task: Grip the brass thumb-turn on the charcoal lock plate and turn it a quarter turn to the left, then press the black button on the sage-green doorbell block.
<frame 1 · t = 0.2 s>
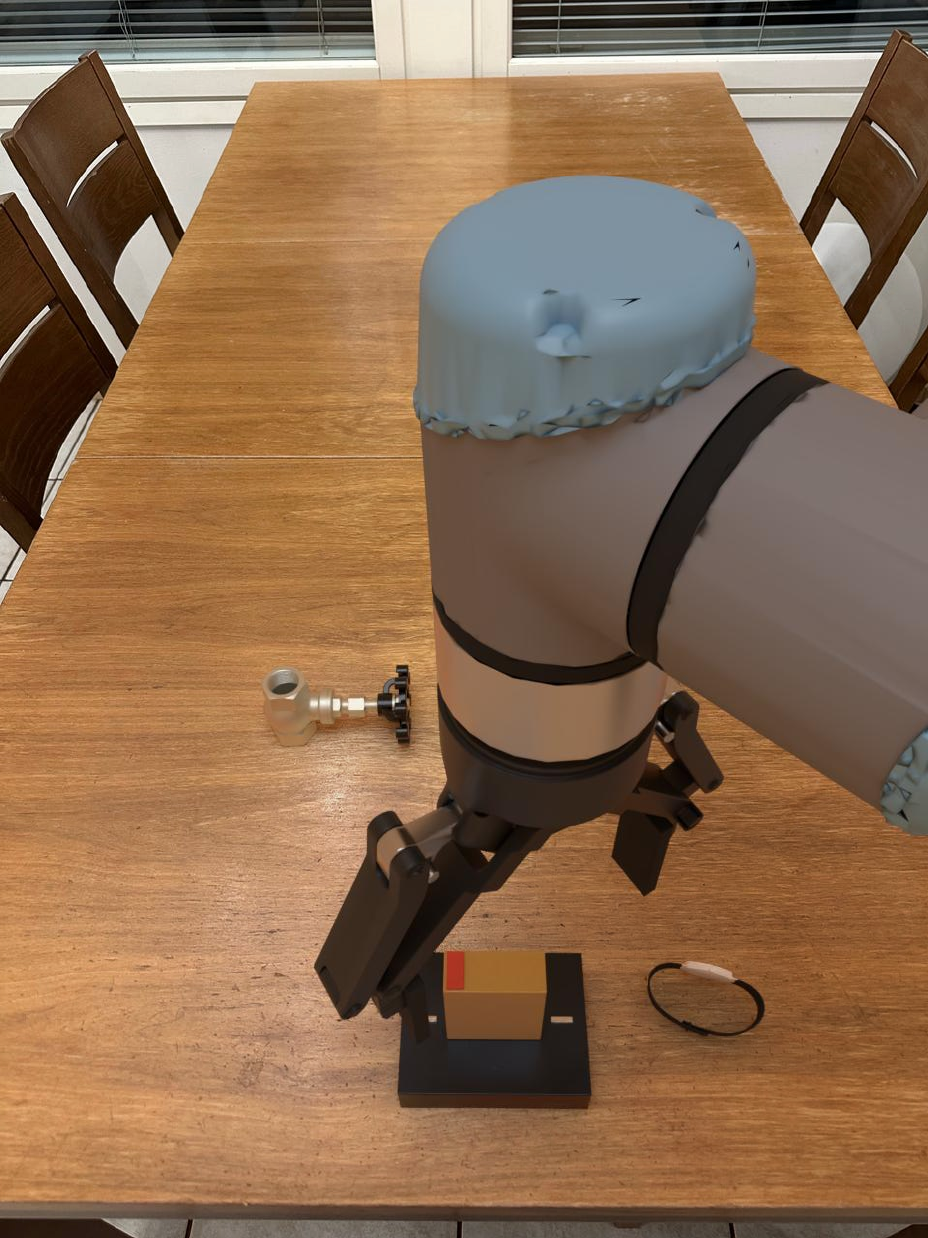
hand: (526, 941, 47), 20 cm above the table, tool pointing down, fingers open, 13 cm apart
bell button: (605, 616, 83), point 4 cm above the table, slide at 0.1 cm
valve: (341, 730, 81), on the table
lock plate: (493, 1035, 64), on the table
doorbell: (600, 649, 86), on the table
watch: (699, 1007, 65), on the table
lock knob: (494, 996, 58), point 7 cm above the table, hinge at 0.0°
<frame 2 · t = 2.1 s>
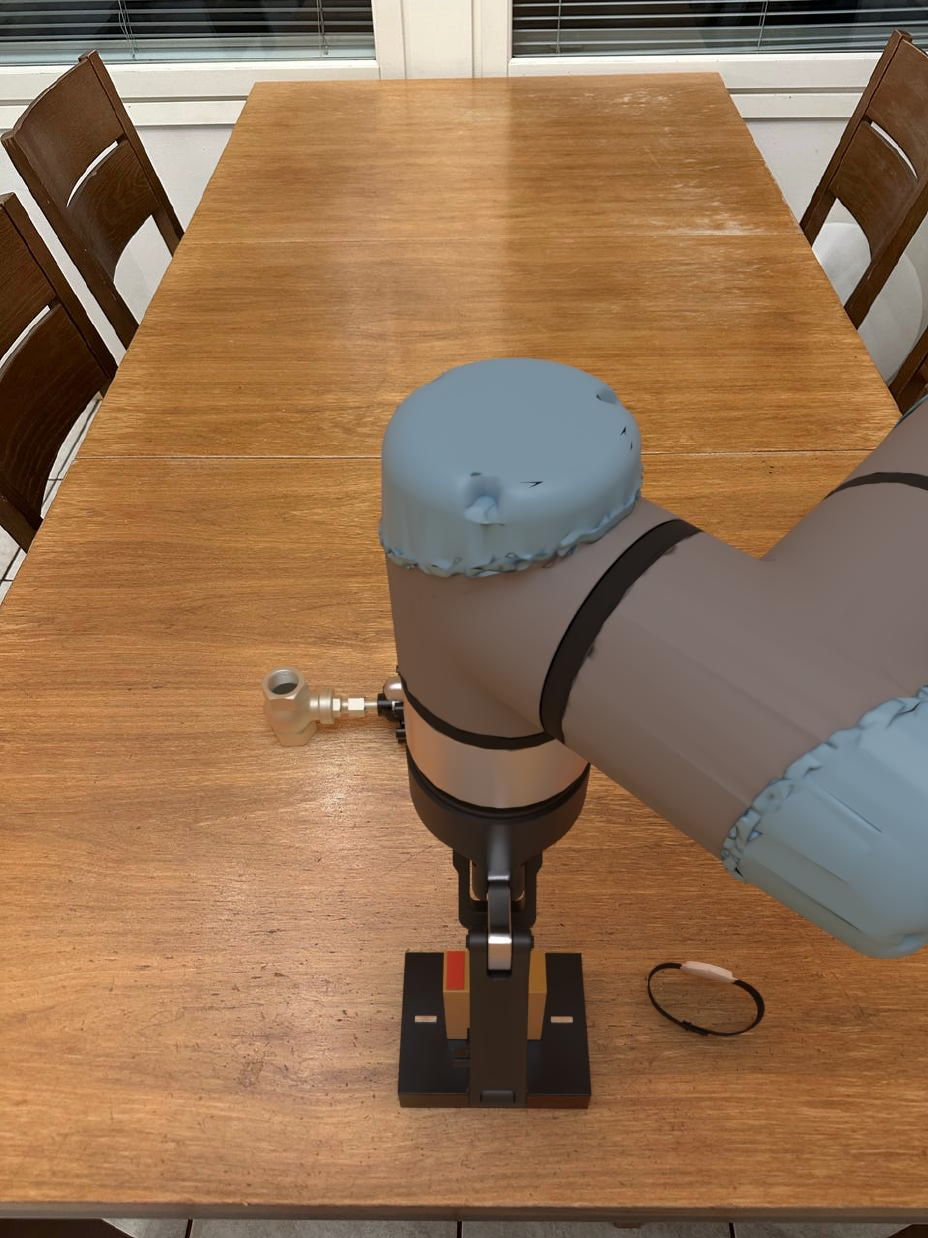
hand: (492, 950, 53), 14 cm above the table, tool pointing down, fingers open, 13 cm apart
nothing on the table moved.
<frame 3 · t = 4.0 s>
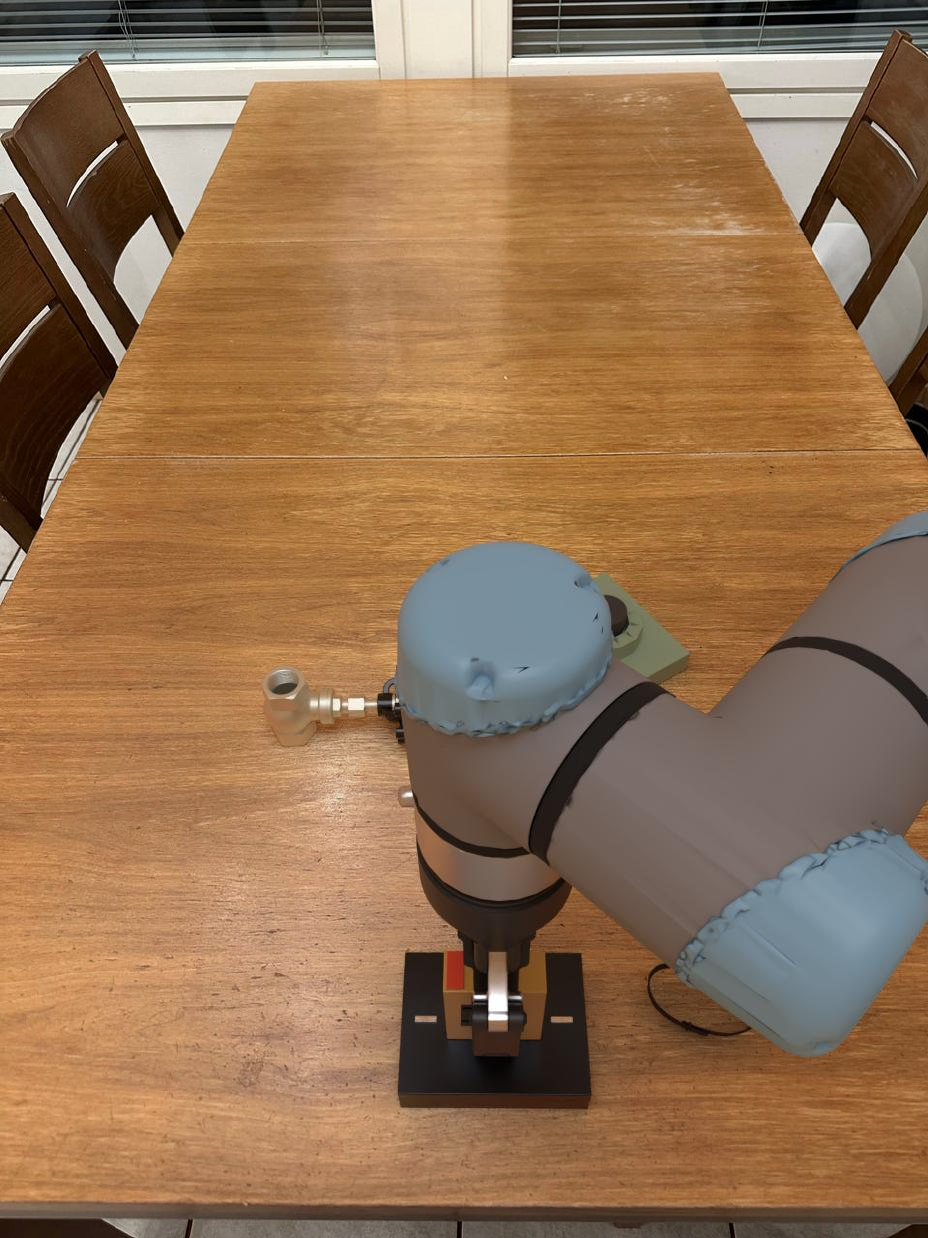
hand: (493, 1014, 61), 4 cm above the table, tool pointing down, fingers closed on lock knob, 2 cm apart
lock knob: (494, 996, 58), point 7 cm above the table, hinge at 0.0°, touching gripper
everything else where it was.
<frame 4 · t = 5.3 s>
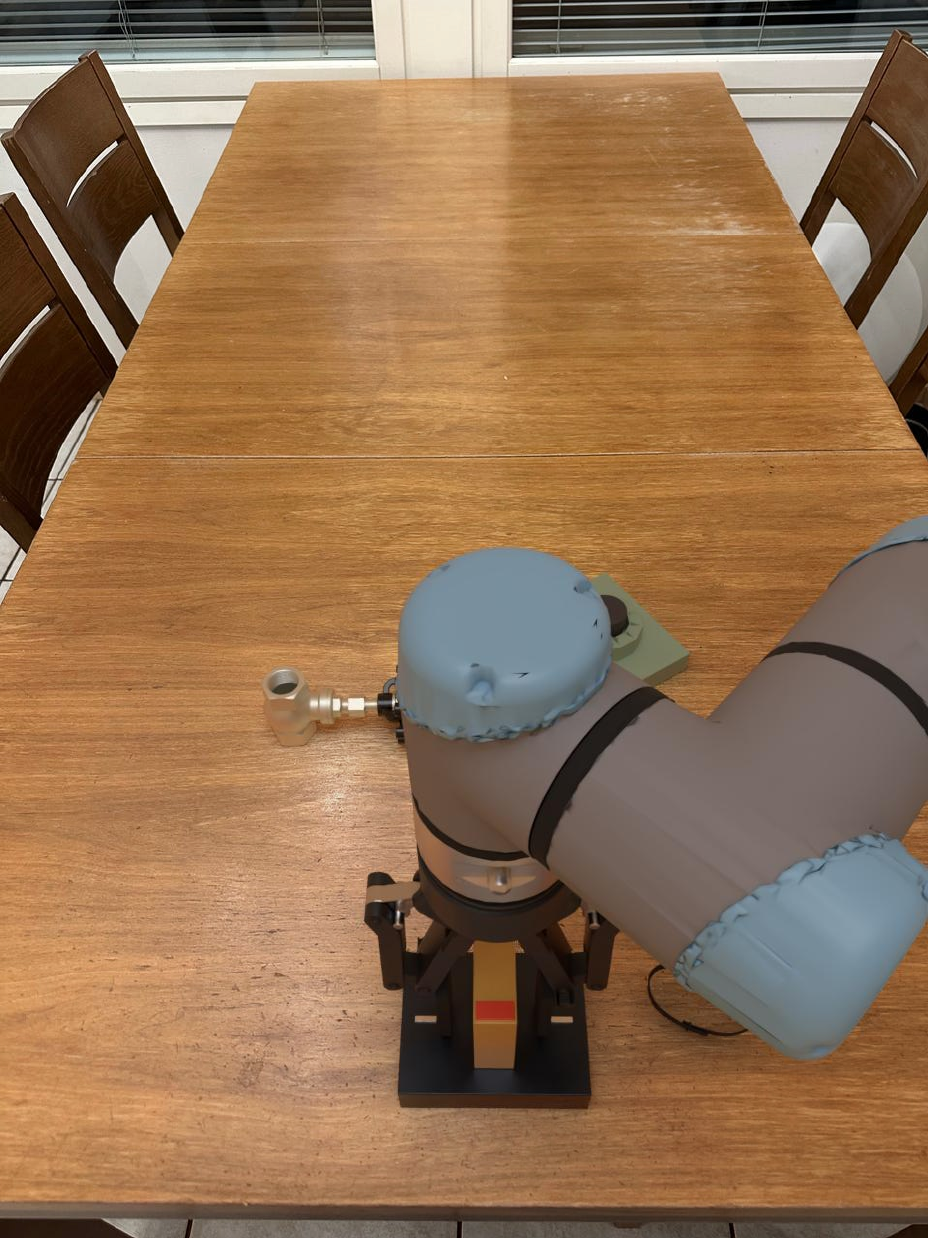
hand: (493, 1014, 61), 4 cm above the table, tool pointing down, fingers open, 5 cm apart
lock knob: (494, 996, 58), point 7 cm above the table, hinge at 90.0°
everything else where it was.
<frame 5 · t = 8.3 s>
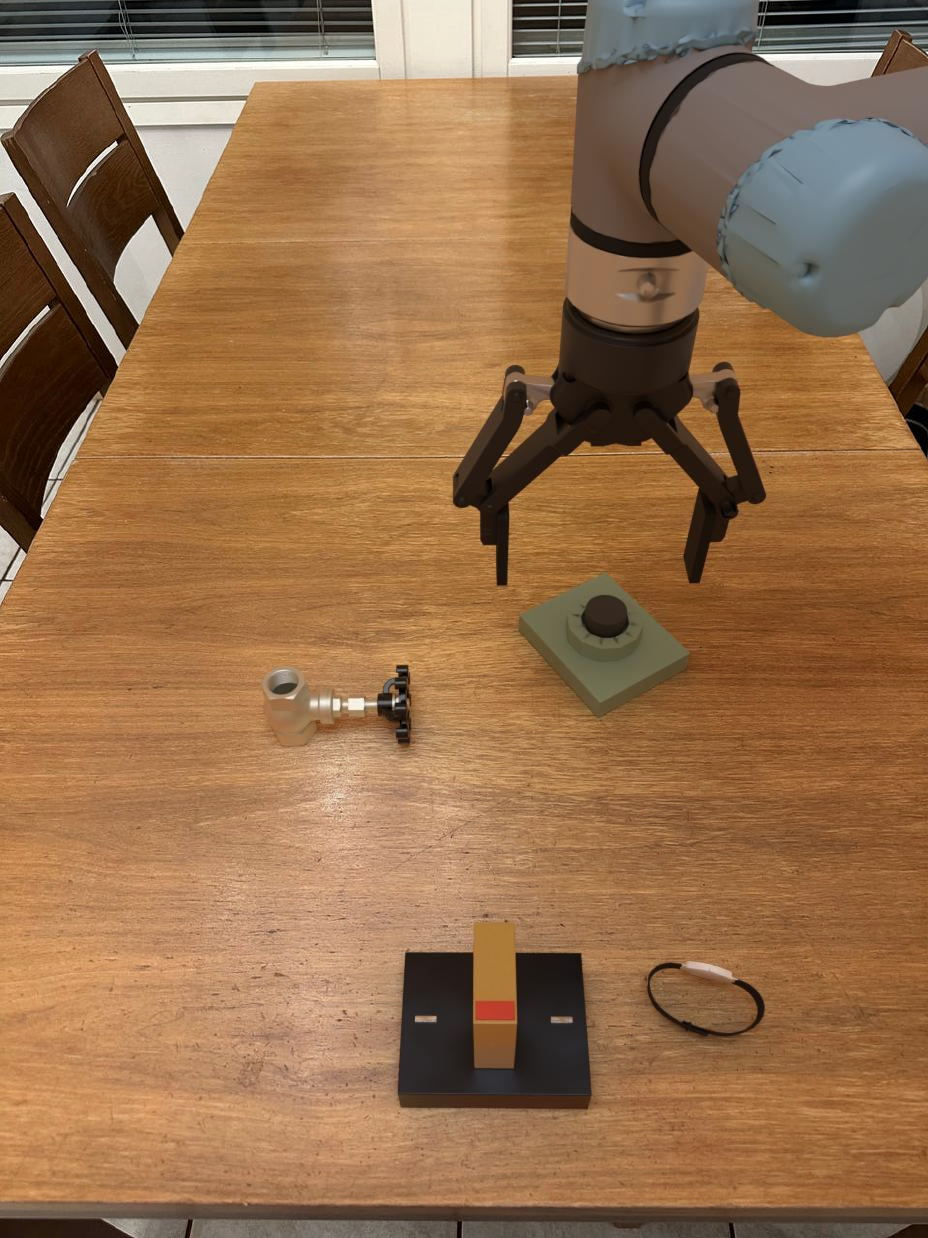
hand: (596, 571, 68), 18 cm above the table, tool pointing down, fingers open, 13 cm apart
nothing on the table moved.
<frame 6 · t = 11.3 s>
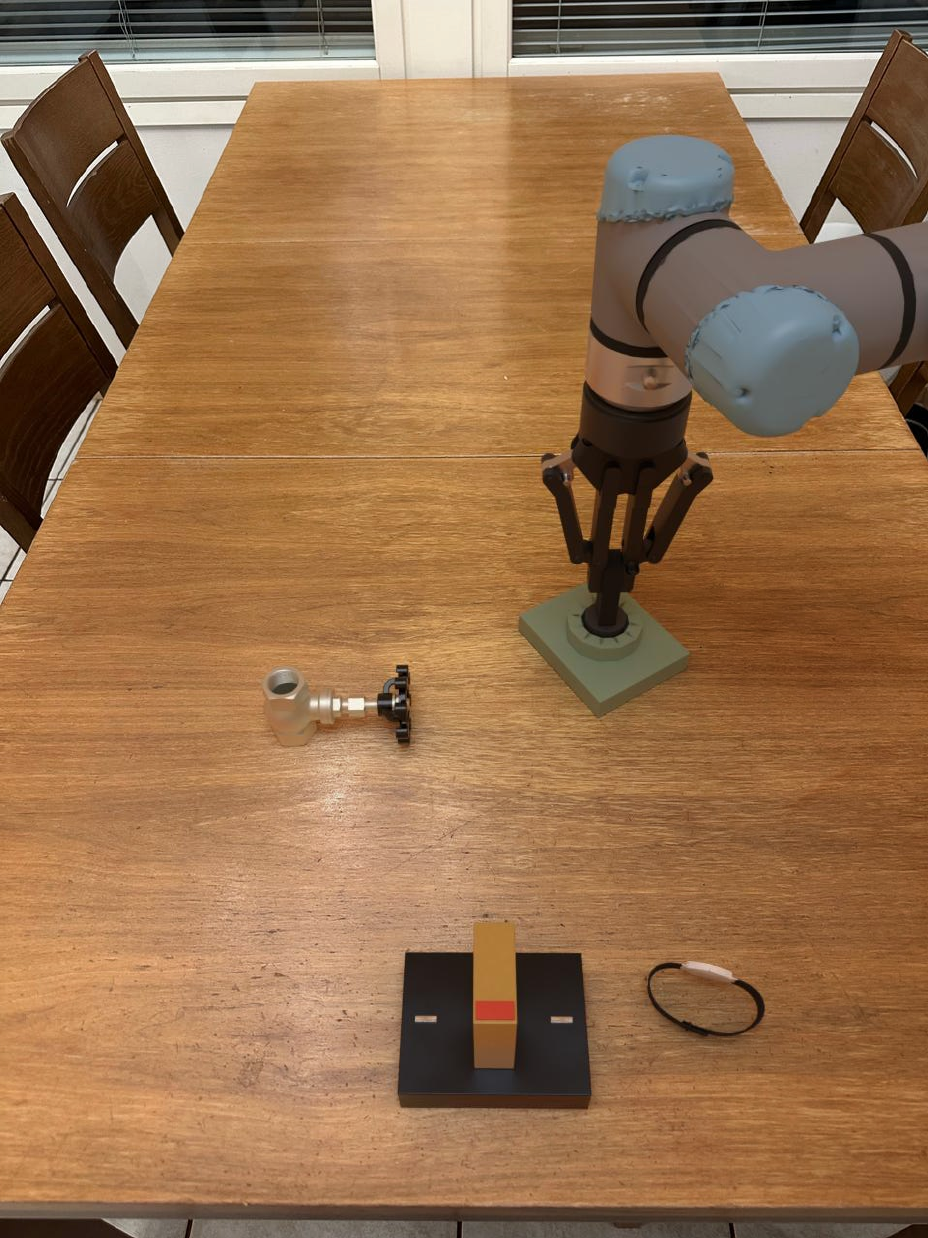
hand: (605, 613, 83), 5 cm above the table, tool pointing down, fingers closed
bell button: (604, 622, 83), point 4 cm above the table, slide at -0.7 cm, touching gripper
everything else where it was.
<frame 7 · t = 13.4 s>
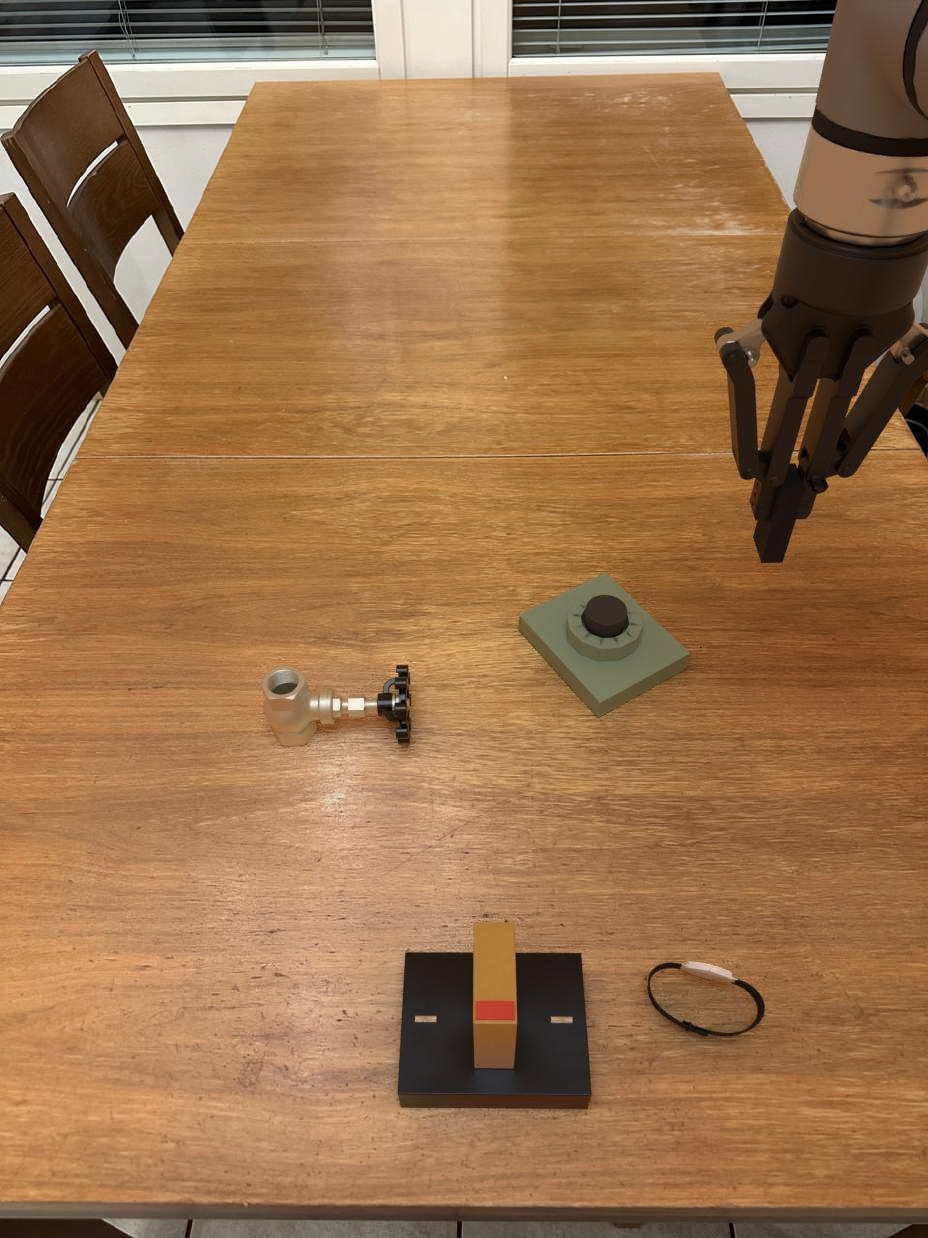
hand: (767, 549, 66), 20 cm above the table, tool pointing down, fingers closed
bell button: (605, 616, 83), point 4 cm above the table, slide at 0.1 cm
everything else where it was.
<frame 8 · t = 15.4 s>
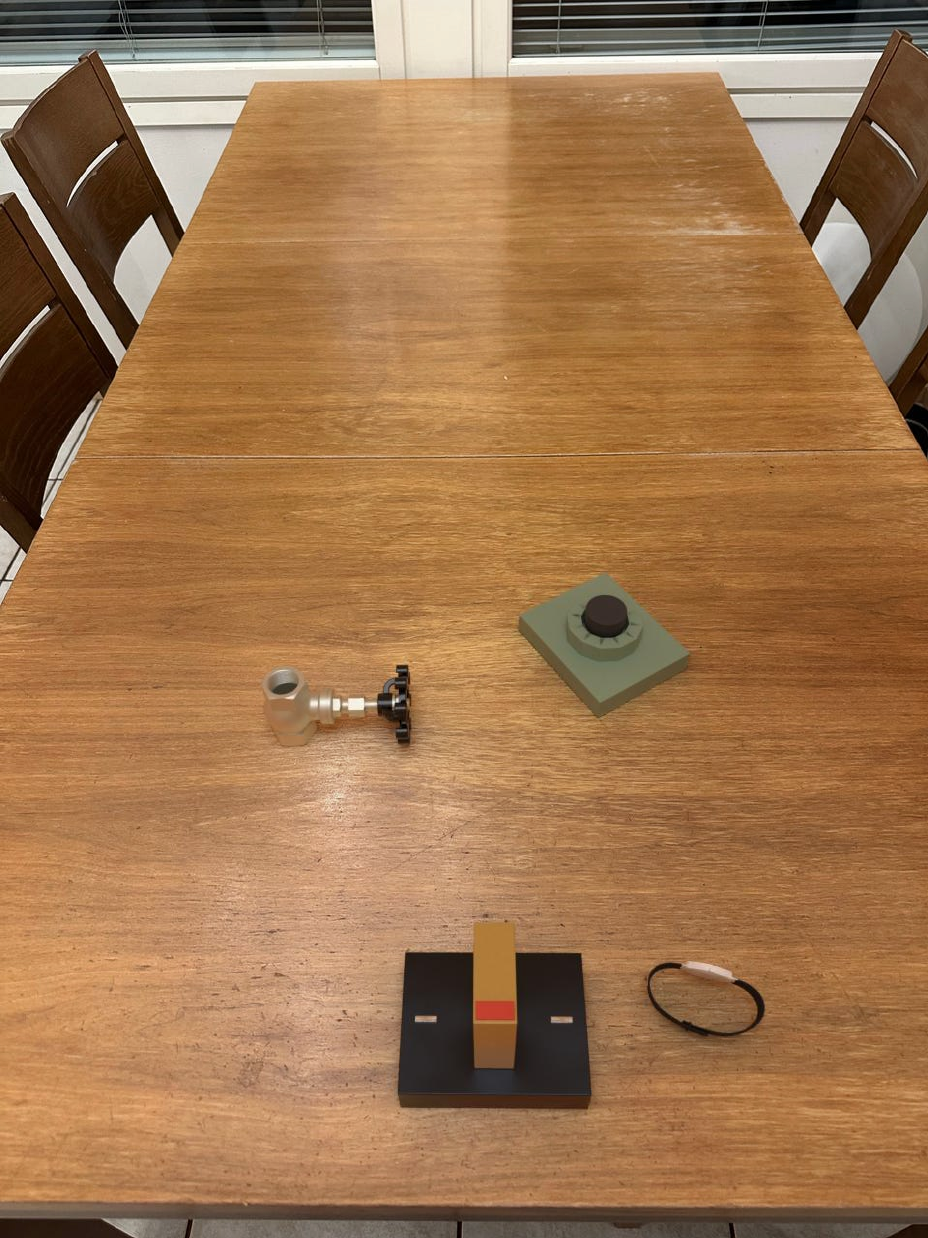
nothing on the table moved.
at the end: lock knob at +90° (first picture: +0°); bell button pushed in 1.0 cm at the most during the clip, back to where it started at the end; bell button slide at 0.1 cm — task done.
